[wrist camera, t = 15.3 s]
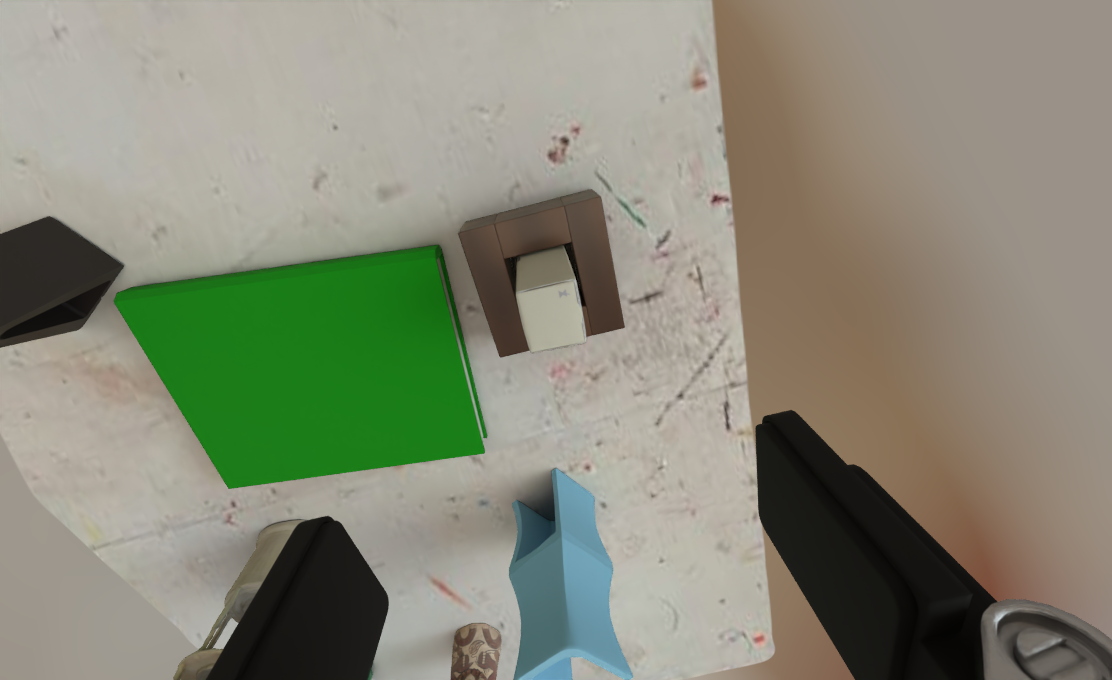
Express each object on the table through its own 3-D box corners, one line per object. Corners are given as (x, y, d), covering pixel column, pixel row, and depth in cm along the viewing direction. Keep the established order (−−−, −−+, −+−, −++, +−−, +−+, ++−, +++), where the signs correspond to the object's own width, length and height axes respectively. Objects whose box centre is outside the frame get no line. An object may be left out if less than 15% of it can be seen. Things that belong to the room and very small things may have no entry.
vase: (555, 532, 57) (569, 716, 39) (511, 503, 54) (504, 687, 36) (599, 499, 55) (634, 677, 37) (555, 467, 52) (571, 643, 34)
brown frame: (592, 188, 38) (600, 196, 34) (614, 307, 44) (624, 327, 39) (465, 221, 39) (457, 232, 34) (502, 335, 44) (499, 357, 40)
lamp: (266, 574, 57) (31, 969, 30) (245, 502, 51) (-65, 907, 24) (347, 575, 58) (190, 958, 31) (335, 504, 52) (132, 895, 25)
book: (486, 435, 49) (484, 453, 47) (245, 469, 49) (228, 488, 47) (439, 242, 40) (433, 250, 37) (138, 284, 40) (109, 295, 37)
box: (515, 243, 40) (511, 288, 29) (562, 234, 40) (576, 274, 28) (528, 296, 42) (529, 356, 31) (572, 287, 42) (588, 344, 31)
